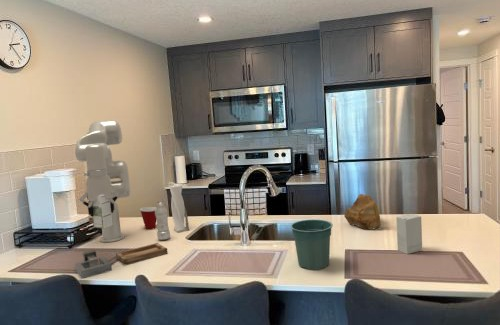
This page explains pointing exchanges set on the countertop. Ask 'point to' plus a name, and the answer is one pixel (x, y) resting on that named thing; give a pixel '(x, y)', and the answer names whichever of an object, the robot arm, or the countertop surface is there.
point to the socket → (92, 268)
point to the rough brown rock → (363, 213)
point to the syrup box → (101, 212)
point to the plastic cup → (149, 217)
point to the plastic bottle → (162, 221)
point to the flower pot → (312, 243)
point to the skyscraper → (178, 208)
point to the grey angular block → (91, 257)
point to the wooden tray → (141, 253)
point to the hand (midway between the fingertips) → (101, 213)
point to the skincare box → (409, 233)
